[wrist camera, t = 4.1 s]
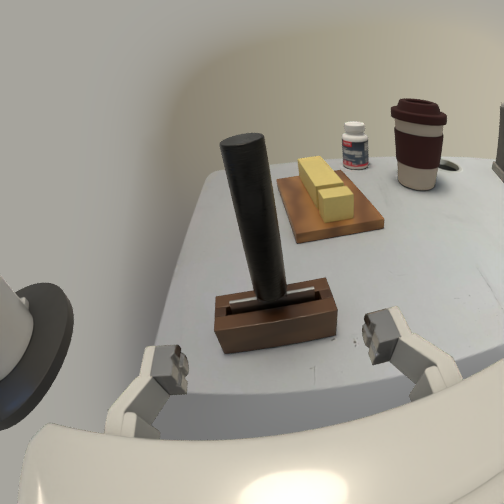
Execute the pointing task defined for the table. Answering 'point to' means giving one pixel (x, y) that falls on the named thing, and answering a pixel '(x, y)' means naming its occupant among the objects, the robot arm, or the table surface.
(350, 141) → the pill bottle
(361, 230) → the cutting board
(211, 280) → the table surface
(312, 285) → the knife holder
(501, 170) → the alarm clock
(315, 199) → the butter block
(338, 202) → the butter slice
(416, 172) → the coffee cup
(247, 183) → the knife
